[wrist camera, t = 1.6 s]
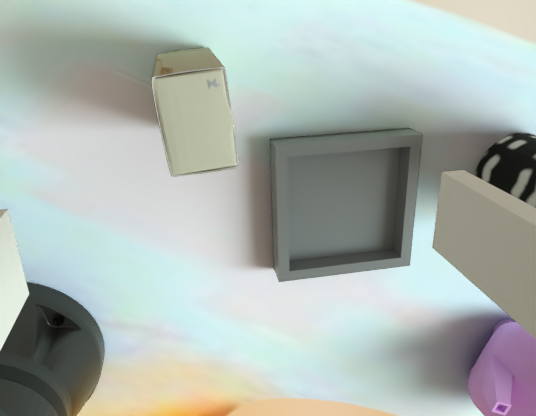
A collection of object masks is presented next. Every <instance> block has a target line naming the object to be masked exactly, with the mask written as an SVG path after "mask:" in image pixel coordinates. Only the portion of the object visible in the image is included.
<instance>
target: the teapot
mask: <svg viewBox="0 0 536 416" xmlns="http://www.w3.org/2000/svg"><path fill="white" fill-rule="evenodd" d="M493 332H494V333H493V335H492V336H491V338H490V339H489V341H488V343H487V344H486V346H485V347H484V349H483V351H482V352H481V354H480V356H479V358H478V360H477V361H476V363H475V365H473V366H472V368H471V370H470V376H469V379H468V390H469V394H470V397H471V399H472V401H473V403H474V404H475V406H476V407H477V408H478V409H479V410H480V411H481V412H482V413H483V415H484V416H536V339H535V338H534V337H533V336H532V335H531V334H530V333H528V332H527V331H526V330H525V329H524V328H523V327H522V326H521V325H519V324H518V323H517V322H513V321H512V320H510V319H503V320H501V321H499V322H498V323H497V324H496V325H495V327H494V330H493Z"/></svg>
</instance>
